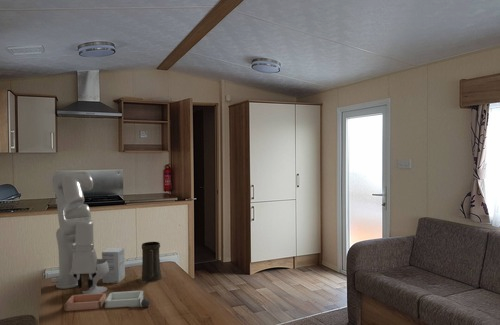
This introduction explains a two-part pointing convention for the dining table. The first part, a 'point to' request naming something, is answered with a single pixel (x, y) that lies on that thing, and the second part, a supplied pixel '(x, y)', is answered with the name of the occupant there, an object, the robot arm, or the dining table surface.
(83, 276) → the walnut peg
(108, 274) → the supplement box
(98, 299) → the terracotta tub
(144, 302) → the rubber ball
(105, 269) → the chalice
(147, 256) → the beer stein
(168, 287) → the dining table surface
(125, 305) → the grey tub
